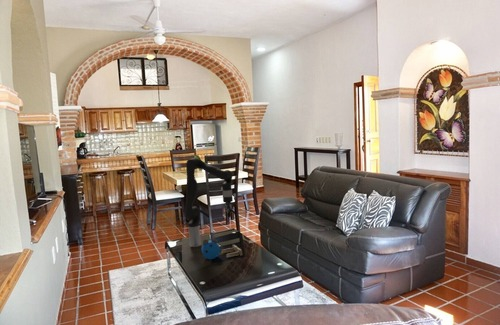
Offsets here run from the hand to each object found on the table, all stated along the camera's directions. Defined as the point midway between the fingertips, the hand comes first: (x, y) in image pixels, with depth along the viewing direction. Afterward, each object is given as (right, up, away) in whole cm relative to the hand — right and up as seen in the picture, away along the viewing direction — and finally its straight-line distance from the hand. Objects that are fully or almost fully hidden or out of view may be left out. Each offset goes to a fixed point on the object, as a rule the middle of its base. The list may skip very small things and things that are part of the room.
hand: (229, 217), depth 284 cm
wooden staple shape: (+2, -27, -6) cm, 28 cm away
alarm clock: (-13, -29, -13) cm, 35 cm away
